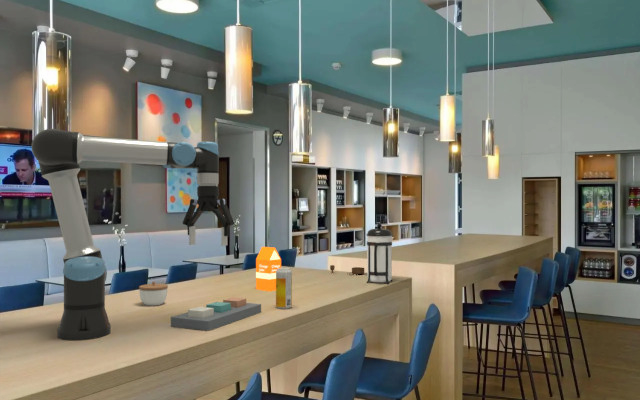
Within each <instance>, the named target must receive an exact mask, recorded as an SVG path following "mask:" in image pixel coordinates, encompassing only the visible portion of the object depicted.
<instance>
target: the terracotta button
mask: <svg viewBox="0 0 640 400" xmlns="http://www.w3.org/2000/svg"><path fill="white" fill-rule="evenodd" d="M222 302H224V303H231V307H236V308H238V307H241V306H244V305H246V303H247V298H246V297H245V298H243V297H233V296H232V297H230V298H226V299H223V300H222Z"/></svg>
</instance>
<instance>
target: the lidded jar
mask: <svg viewBox="0 0 640 400" xmlns="http://www.w3.org/2000/svg"><path fill="white" fill-rule="evenodd" d="M168 287H169V286H168V284H165V283H156V281H151V283H147V284H142V285H139V286H138V289H139V298H140V301H141V302H142V304H143V305H144V306H147V307H152V306H153V307H154V306H155V307H156V306H161V305H163V304H164V303H165V301H166V299H167V298H168V297H167V296H168Z"/></svg>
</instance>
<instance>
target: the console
mask: <svg viewBox="0 0 640 400" xmlns="http://www.w3.org/2000/svg"><path fill="white" fill-rule="evenodd" d="M261 313H262V303H253V302H252V303H251V302H246V305H244V306H241V307H238V308H236V307H231V310H228V311H225V312H222V313H218V312H214V315H212V316H209V317H206V318H194V317H188V311H187V312H184V313H180V314H176V315H173V316H171V317H170V327H172V328H174V327H175V328H179V329H181V328H182V329H189V330H198V331H207V332H209V331H212V330H215V329H218V328H221V327H223V326H226V325H229V324H232V323H235V322H238V321H240V320H243V319H246V318H249V317H252V316H254V315H255V316H256V315H257V314H261Z"/></svg>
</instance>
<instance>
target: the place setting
mask: <svg viewBox="0 0 640 400" xmlns="http://www.w3.org/2000/svg"><path fill="white" fill-rule="evenodd" d="M329 269H330V271H331V274H332V273H333V274H334V271H335V265H333V264H331V265H329ZM348 273H349V272H347V275H348ZM354 274H363V275H367V272H365V267H362V266H361V267H358V266H356V267H352V268H351V273H349V275H348V276H351V275H354Z"/></svg>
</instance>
